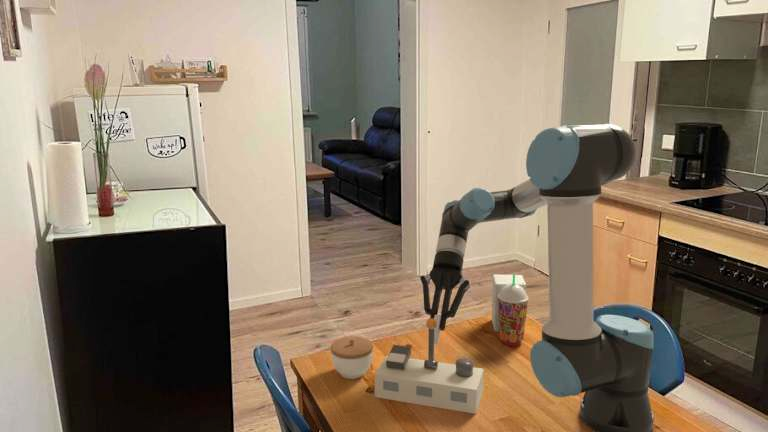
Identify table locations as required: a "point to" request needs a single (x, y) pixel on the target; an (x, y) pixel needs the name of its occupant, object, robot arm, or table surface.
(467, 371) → the button
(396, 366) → the block
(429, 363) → the lever
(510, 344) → the smoothie
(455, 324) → the table surface
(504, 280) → the supplement box
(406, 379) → the console
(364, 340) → the lidded jar
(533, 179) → the robot arm
